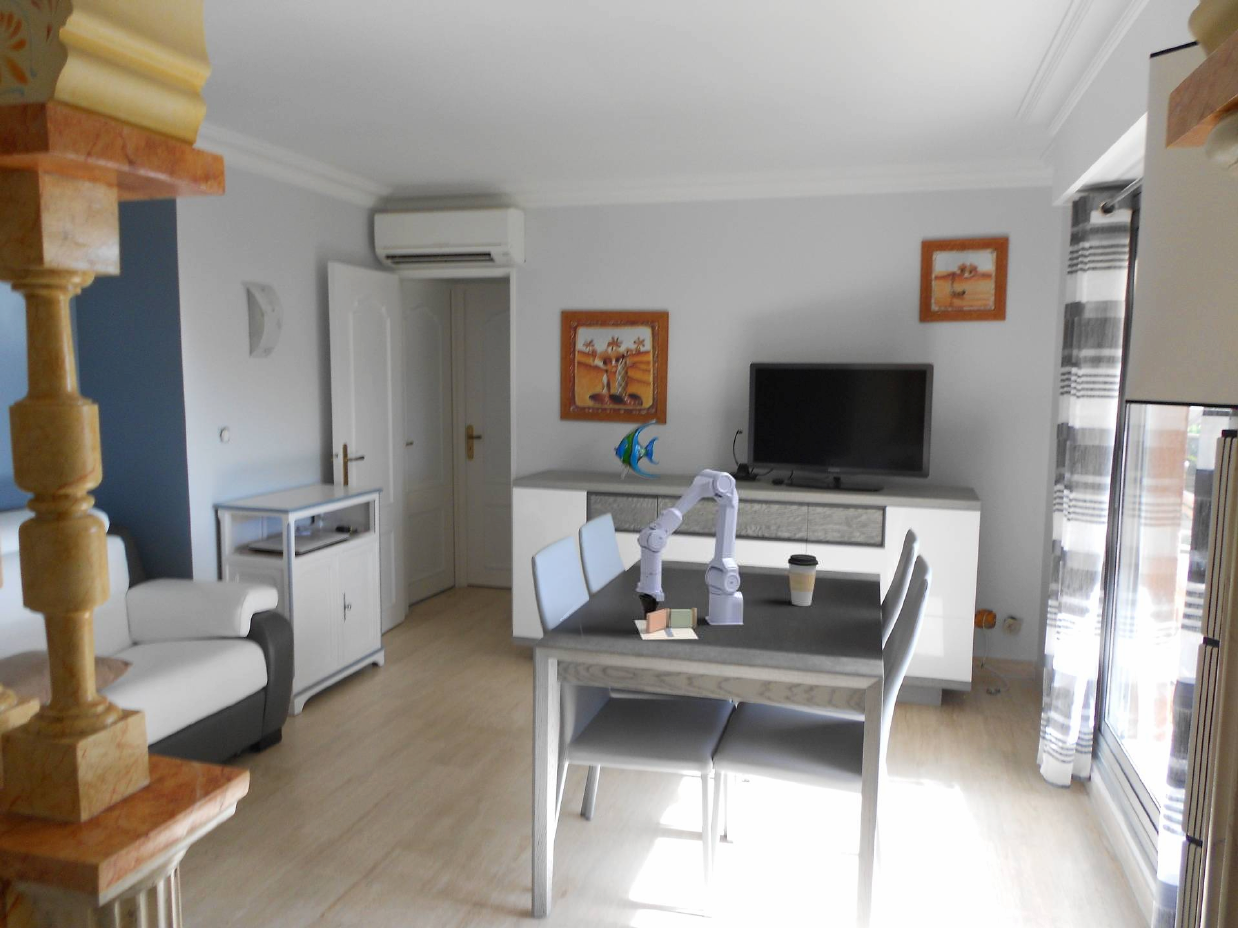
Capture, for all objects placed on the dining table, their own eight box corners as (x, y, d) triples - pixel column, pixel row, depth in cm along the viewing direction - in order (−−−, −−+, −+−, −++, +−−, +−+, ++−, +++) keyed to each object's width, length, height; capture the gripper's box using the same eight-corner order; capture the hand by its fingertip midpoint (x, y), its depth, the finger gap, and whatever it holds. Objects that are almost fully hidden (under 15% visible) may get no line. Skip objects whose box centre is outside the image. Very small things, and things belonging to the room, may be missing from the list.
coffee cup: (782, 605, 274) (784, 557, 272) (790, 598, 282) (792, 552, 281) (813, 608, 270) (814, 560, 268) (819, 602, 278) (821, 555, 277)
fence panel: (665, 625, 247) (666, 607, 246) (670, 626, 246) (671, 608, 245) (645, 631, 240) (645, 613, 240) (650, 632, 239) (650, 614, 239)
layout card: (685, 620, 254) (685, 619, 254) (698, 639, 235) (698, 637, 235) (634, 621, 253) (634, 619, 253) (642, 640, 234) (642, 638, 234)
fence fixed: (695, 626, 247) (696, 607, 247) (697, 627, 246) (697, 608, 245) (669, 626, 246) (670, 607, 246) (670, 628, 245) (671, 609, 244)
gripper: (627, 567, 247) (626, 614, 248) (647, 578, 233) (646, 628, 234) (651, 566, 249) (650, 613, 250) (671, 577, 236) (670, 626, 237)
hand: (649, 620), depth 243 cm, fingers closed, pressing on fence panel
